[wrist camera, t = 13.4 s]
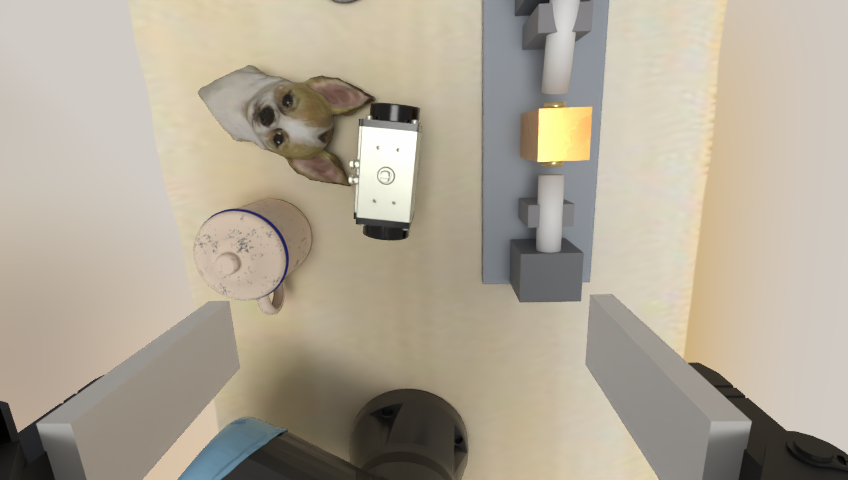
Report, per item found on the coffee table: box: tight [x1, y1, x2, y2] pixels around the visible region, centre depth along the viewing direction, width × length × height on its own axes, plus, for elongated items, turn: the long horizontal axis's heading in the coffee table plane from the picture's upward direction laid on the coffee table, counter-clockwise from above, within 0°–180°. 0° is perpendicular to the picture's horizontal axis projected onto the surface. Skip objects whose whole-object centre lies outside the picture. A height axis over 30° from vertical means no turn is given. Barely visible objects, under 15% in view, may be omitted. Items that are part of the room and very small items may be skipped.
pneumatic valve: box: [349, 103, 422, 240], centre depth 39 cm, size 6×12×12 cm, turn 174°
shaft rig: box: [483, 0, 609, 302], centre depth 39 cm, size 32×12×9 cm, turn 2°
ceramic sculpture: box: [198, 65, 375, 186], centre depth 40 cm, size 11×9×15 cm
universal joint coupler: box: [520, 101, 592, 167], centre depth 38 cm, size 6×4×8 cm
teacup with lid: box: [194, 199, 312, 315], centre depth 42 cm, size 12×9×12 cm
